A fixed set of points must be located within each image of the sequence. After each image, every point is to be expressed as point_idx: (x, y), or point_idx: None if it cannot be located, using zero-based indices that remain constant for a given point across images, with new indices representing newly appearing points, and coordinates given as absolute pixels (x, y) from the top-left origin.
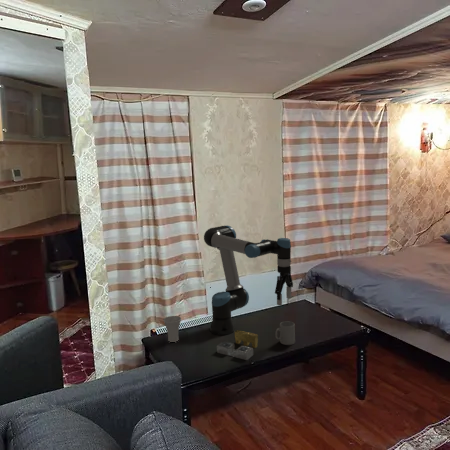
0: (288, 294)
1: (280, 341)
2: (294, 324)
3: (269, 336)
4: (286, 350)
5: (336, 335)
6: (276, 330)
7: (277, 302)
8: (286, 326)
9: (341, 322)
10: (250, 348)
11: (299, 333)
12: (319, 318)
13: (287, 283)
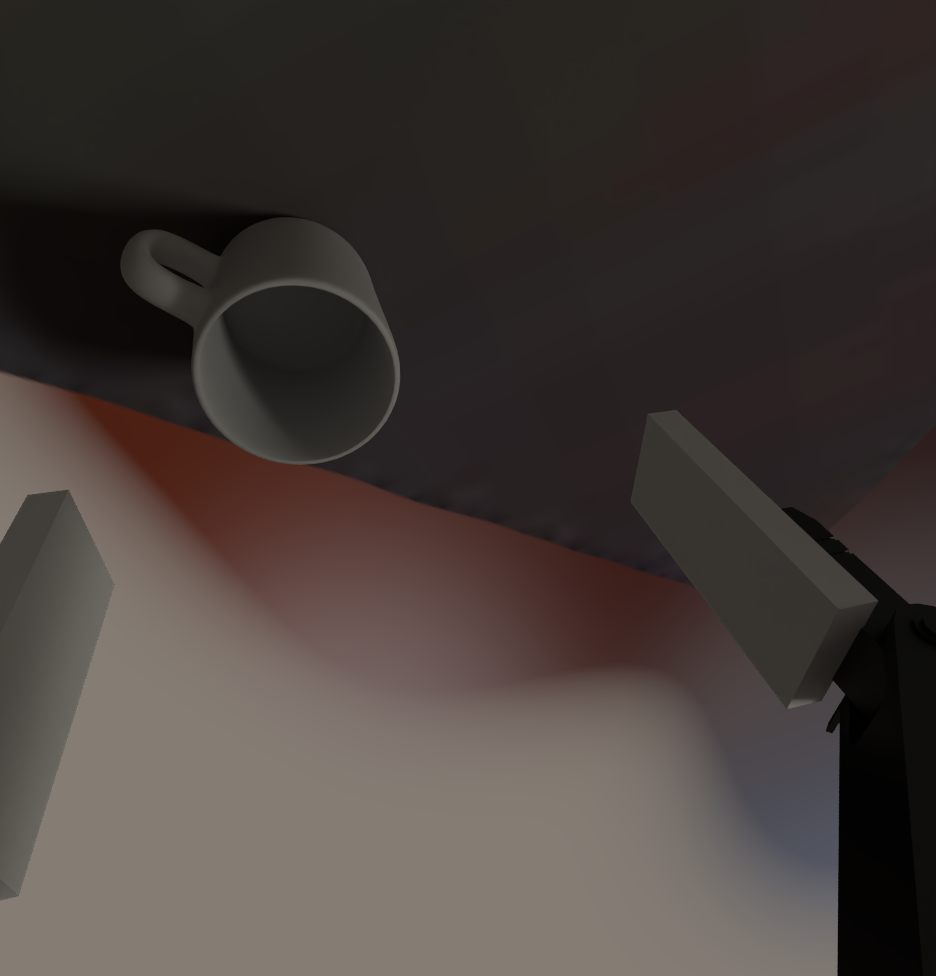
0: (682, 507)
1: (227, 246)
2: (340, 456)
3: (307, 7)
4: (116, 380)
5: (603, 539)
6: (123, 276)
7: (12, 551)
8: (211, 417)
9: (835, 471)
10: None
11: (542, 302)
12: (912, 303)
13: (878, 826)
